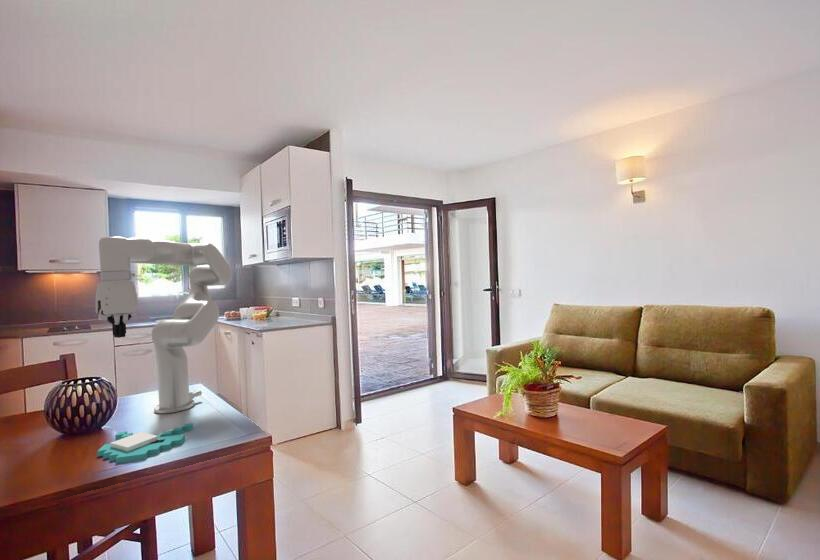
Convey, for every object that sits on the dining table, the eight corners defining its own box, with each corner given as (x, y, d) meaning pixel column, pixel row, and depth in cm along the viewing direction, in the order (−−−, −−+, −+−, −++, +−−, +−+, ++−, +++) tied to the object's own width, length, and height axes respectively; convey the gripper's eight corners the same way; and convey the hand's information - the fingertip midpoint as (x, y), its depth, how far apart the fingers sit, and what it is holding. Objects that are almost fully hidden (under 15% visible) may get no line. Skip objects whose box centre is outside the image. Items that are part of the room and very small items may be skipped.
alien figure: (118, 439, 122) (85, 470, 103) (118, 432, 122) (84, 462, 103) (193, 430, 127) (174, 458, 108) (192, 423, 127) (173, 449, 108)
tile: (140, 431, 119) (110, 442, 111) (158, 435, 115) (127, 447, 108) (141, 436, 119) (110, 447, 111) (158, 440, 115) (127, 452, 108)
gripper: (134, 277, 135) (137, 332, 135) (81, 278, 121) (85, 340, 122) (148, 276, 131) (151, 333, 132) (95, 277, 118) (99, 341, 118)
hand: (119, 336), depth 127 cm, fingers closed
